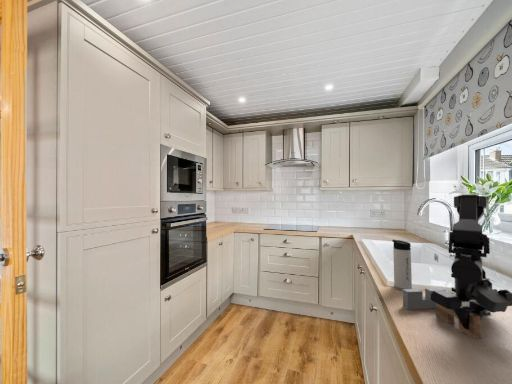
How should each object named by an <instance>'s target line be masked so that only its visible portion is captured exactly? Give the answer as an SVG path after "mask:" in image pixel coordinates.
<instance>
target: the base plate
mask: <svg viewBox="0 0 512 384" xmlns="http://www.w3.org/2000/svg"><path fill="white" fill-rule="evenodd" d="M441 290H444V291H446V290H445V289H444V288H441V287H439V286H438V287H425V288H424V296H423V291H422V290H421V289H419V288H412V289H403V291H402V307H403V308H405V309H406V310H408V311H409V310H421V309H423V310H424V309H426V310H427V309H436V303H435V302H434V301H432V300H431V292H433V291H441Z"/></svg>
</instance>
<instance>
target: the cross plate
mask: <svg viewBox="0 0 512 384" xmlns="http://www.w3.org/2000/svg"><path fill="white" fill-rule="evenodd" d="M435 312H436V313H435V315H436V317H438V318H439V319H441V320H442V321H444V322H445V323H447V324H454V323H455V318H456V319H457V320H458V330H459V331H460V332H463V333H464V334H466V335H468V336H469V337H470V338H472V339H474V340H475V339H481V338H482V335H481V332H482V330H481V320H480V316H479V315H477V314H475V313H473V312H470V317H469V329H468V330H467V329H465V328H464V327H463V326H462V324H461V322H460V320H459V318H458V316H457V315H456V313H455V311H454V310H453V309H447V308H445V307H443V306H441V305H439V304H437V303H436V308H435Z"/></svg>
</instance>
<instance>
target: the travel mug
mask: <svg viewBox="0 0 512 384" xmlns="http://www.w3.org/2000/svg"><path fill="white" fill-rule="evenodd" d="M391 242H393V251H392V252H393V286H394V288H395V289H396V290H398V291H402V292H403V289H413V285H412V283H413V282H412V278H413V277H412V275H413V274H412V249H411V246H412V245H411V243H410V242H408V241H404V240H400V239H398V240H397V239H392V240H391Z"/></svg>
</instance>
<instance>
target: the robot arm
mask: <svg viewBox="0 0 512 384" xmlns="http://www.w3.org/2000/svg"><path fill="white" fill-rule="evenodd" d="M487 205H488V204H487V196H483V195H482V194H481V195H479V194H477V193H461V194H458V195H457V196H453V207H454V208H455V209H456V212H457V214H458V218H459V219H458V221H457V222H455V223H453V225H452V230H450V231H449V233H448V235H449V237H448V253H449V254H454V259H453V262H452V264H451V269H450V270H451V274H450V276H451V278H454V287H452V286H451V292H452V293H451V292H449V291H446V290H445V289H444V290H445V291H444V290H441V291H433V292H431V300H432V301H434V302H435V303H437V304H439V305H441V306H443V307H445V308H447V309H453V310H454V311H455V313H456V315H457V316H458V318H459V319H458V321H459V320H460V322H461V324H462V326H463V327H464V328H465V329H467V330H468V329H469V317H470V312H473V313H475V314H477V315H479V316H480V321H481V320H482V317H483V316H484V315H491V314H492V313H494V314H495V313H498V312H500V313H501V312H502V313H505V312H506V310H507V309H508V307H512V292H511V291H509V290H508V289H499V290H497V289H496V288H493V283H492V282H491V280H490V279H489V277H487V275H486V274H487V273H486V271H485V270H484V268H483V258H487V257H488V256H487V255H490V254H491V253H490V251H491V247H490V238H489V237H488V235H487V233H483V225H481V224H480V223H479V221H480V219H481V218H482V217H483V216H484V215H485V209H487ZM482 251H483V252H482ZM454 293H455V294H454Z"/></svg>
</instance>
